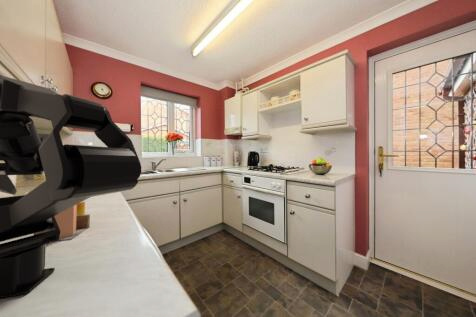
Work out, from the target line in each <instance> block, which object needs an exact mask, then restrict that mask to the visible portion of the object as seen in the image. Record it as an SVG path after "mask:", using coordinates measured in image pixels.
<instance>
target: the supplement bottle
mask: <svg viewBox="0 0 476 317" xmlns="http://www.w3.org/2000/svg"><path fill="white" fill-rule="evenodd" d="M85 212H86V200H84V201H82V202H80V203H78V204H77V214H76V215H86V213H85Z"/></svg>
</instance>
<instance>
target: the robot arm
mask: <svg viewBox="0 0 476 317" xmlns="http://www.w3.org/2000/svg"><path fill="white" fill-rule="evenodd" d="M32 118H38V119H43V120H47V121H50V122H51V126H52V130H51V132H50V133H39V132H38V130H37V128H36V125H35V123H34V122H35V121H34V120H33V119H32ZM64 128H68V129H70V128H71V129H78V130H83V131H84V130H85V131H91V132H94V135H95V137H97V138H98V139H99V141H101V142H102V143H103V144H104V145H105V146H98V145H97V146H94V145H83V144H82V145H81V144H80V145H78V144H66V143H65V144H63V140H62V138H61V134H60V132H61V130H63V129H64ZM137 153H138V152H137V150H136V148H135V146H134V144H133V141H132V139H131V138H130V137H129V136H128V135H127V134H126V133H125V132H124V131H123V130H122V129H121V128H120V127H119V126H118V125H117V124H116V123H115V122H114V121H113V120H112V116H111V114H110V110H109V109H108V107H106V106H105V105H102V103H100V102H97V101H94V100H90V99H86V98H83V97H79V96H74V95H71V94H67V93H64V94H60V93H58V92H56V91H54V90H53V89H52V88H48V87H45V86H41V85H38V84H34V83H30V82H26V81H23V80H19V79H16V78H13V77H9V76H6V75H1V74H0V161H3V162H0V192H1V193H5V194H8V195H15V196H6V197H0V299H4V298H9V297H17V296H22V295H26V294H29V293H30V292H31V291H32V290H33V289H34V288H36V287H37V286H39V285H40V283H42V282H43V281H44V280H45V279H47V277H49V276H50V275H51V274H53V273H54V272H55V267H50V268H49V267H48V268H45V267H46V245H47V244H52V243H55V242H58V241H59V236H60V229H59V226H58V224H57V222H56V219H55V217H54V216H55V215H57V214H59V213H61V212H63V211H65V210H67V209H69V208H70V207H72V206H74V205H76V204H78V203H80V202H82V201H84V200H85V201H86V200H88V199H89V198H93V197H97V196H98V197H99V196H104V195H108V194H109V195H110V194H116V193H122V192H126V191H131V190H133V189H134V188H135V187H136V186H137V185H138V183H139V179H140V176H141V174H142V165H141V161H140V159H139V156H138V154H137ZM43 173H44V174H43ZM42 174H43V175H44V177H45V181H43V182H41V183H40V184H39V185H38V186H36V187H34V189H32V190H30V191H29V192H28V193H26V194H23V195H22V194H21V195H16V194H17V192H18V190H17V188H16V185H15V184H14V183H13V181H12V180H11V178H10V177H9V176H30V175H31V176H34V175H35V176H36V175H41V176H42ZM38 232H43V233H40V234H37V235H34V233H38ZM22 237H23V238H22ZM13 239H15V240H13ZM10 240H11V241H10ZM6 241H7V242H6ZM1 242H3V243H1ZM59 242H60V241H59Z"/></svg>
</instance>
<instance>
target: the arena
mask: <svg viewBox="0 0 476 317" xmlns="http://www.w3.org/2000/svg"><path fill="white" fill-rule="evenodd" d="M90 218H91V216H90V214H85V215H76V231H75V233H74V235H73V236H67V237H61V238H59V242H60V241H70V240H73V239H75V237H77V236H78V235H80V234H82V233H83V232H84V231H86V230H87V229H89V228H90V227H91V226H90ZM40 233H43V232H38V233H34V234H33V235H37V234H40Z"/></svg>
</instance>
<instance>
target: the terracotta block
mask: <svg viewBox="0 0 476 317" xmlns="http://www.w3.org/2000/svg"><path fill="white" fill-rule="evenodd" d="M76 214H77V204H76V205H74V206H72V207H70V208H69V209H67V210H65V211H63V212H61V213H59V214H57V215H55V216H54V217H55V219H56V222H57V224H58V226H59V229H60V236H59V238H61V237H67V236H73V235H74V233H75V231H76Z"/></svg>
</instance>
